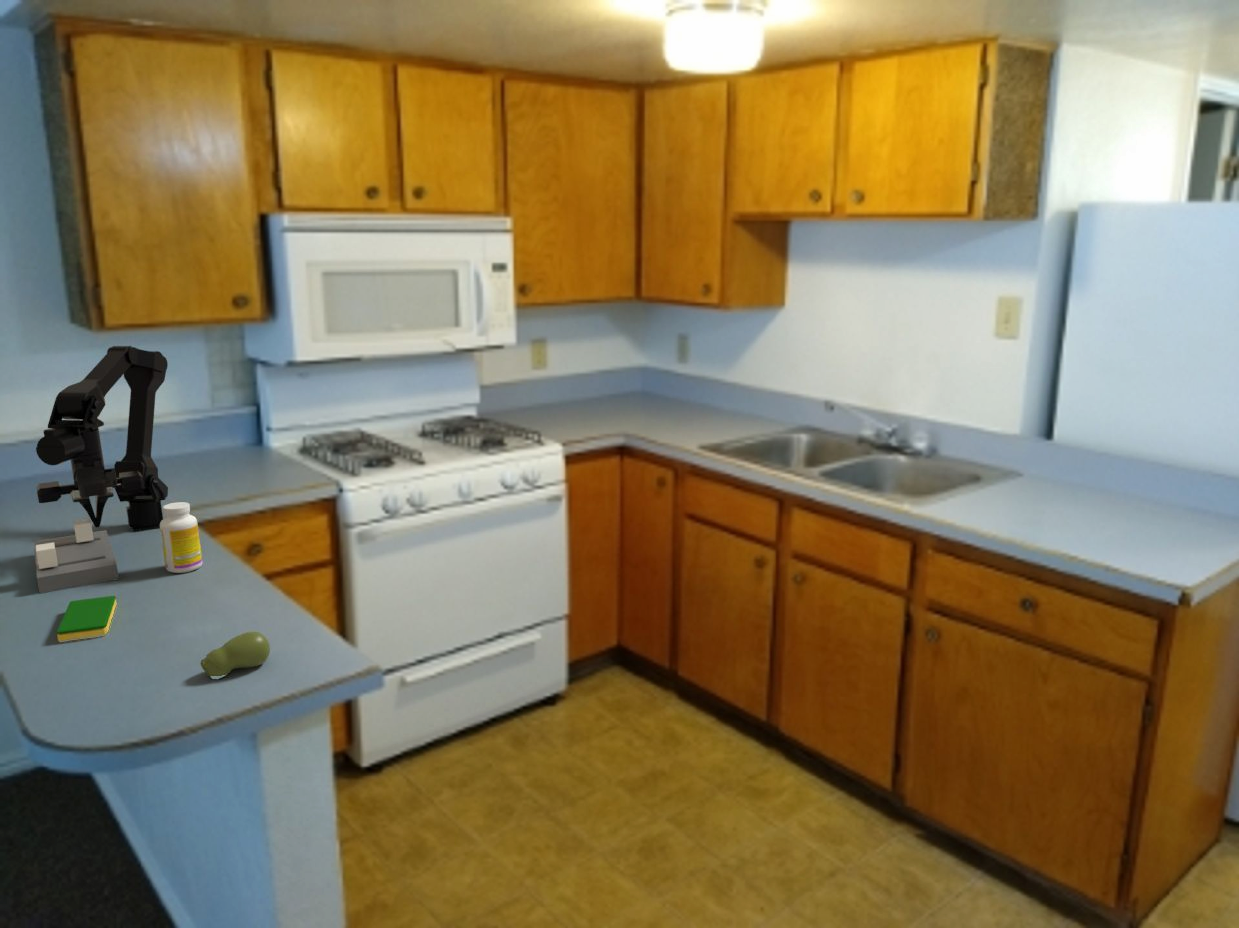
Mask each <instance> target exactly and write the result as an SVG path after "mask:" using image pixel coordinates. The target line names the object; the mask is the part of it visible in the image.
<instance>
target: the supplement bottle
mask: <svg viewBox="0 0 1239 928" xmlns="http://www.w3.org/2000/svg"><path fill="white" fill-rule="evenodd" d="M190 510H191V506H190V503H189V502H186V501H185V502H184V501H183V502H181V501H179V502H171V503H168V504H165V505H163V507H162V514H163V515H164V516H165V517H163V520H162V521H161V523H160V527H159V529H160V537H161V543H162V544H161V545H162V551H163V557H164V558H163V559H164V566H165V569H166V571H168V572H169V573H174V574H183V573H191V572H193V571H195V570H198V569H200V568H201V567H202V566H203V556H202V555H203V554H202V546H201V541H200V533H199V524H198V519H197V518H196V517H195V516H194V515H192V514H190Z"/></svg>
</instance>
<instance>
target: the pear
mask: <svg viewBox="0 0 1239 928" xmlns="http://www.w3.org/2000/svg"><path fill="white" fill-rule="evenodd" d="M270 653H271V646H270V643H269V640H268V639H267V637H266V636H265V635H264V634H262V633H261V632H258V631H248V632H243V633H241V634H238V635H237V636H234V637H233V638H231V639H229V640H228V641H226V642H225V643H224V644H223V645H222V646H220V647H218V648H216V649H213V650H211V651H210V652H209V653H207V654H206V655H205V657H204V658H203V659H201V660H200V663H199V665H200V667H201V668H202V670H203V671H204V672H205V674H206V675H207V677H209V676H222V675H226V674H228V673H229V674H230V672H231V671H233V670H235V669H239V668H241V669H242V668H246V669H247V668H255V667H254V666H256V667H258V665H259V666H261V665H263V664H264V663H265V662H266V660H267V659H268V658H269V656H270ZM229 674H228V675H229Z"/></svg>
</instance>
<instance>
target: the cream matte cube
mask: <svg viewBox="0 0 1239 928" xmlns="http://www.w3.org/2000/svg"><path fill="white" fill-rule="evenodd" d="M73 529H74V535H75V536H76V541H77V543H79V542H85V541H91V540H94V538H93V532H94V531H93V526H92V520H91V518H86V519H85V518H83V519H77V520H73Z"/></svg>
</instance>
